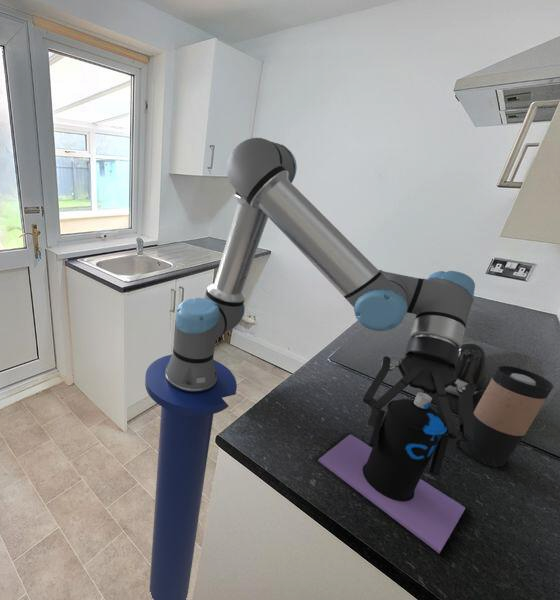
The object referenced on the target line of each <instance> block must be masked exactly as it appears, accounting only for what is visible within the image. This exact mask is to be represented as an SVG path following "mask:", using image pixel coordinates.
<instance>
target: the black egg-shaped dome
mask: <svg viewBox="0 0 560 600" xmlns="http://www.w3.org/2000/svg"><path fill="white" fill-rule="evenodd" d="M487 372H488V359H487V354H486V351H485V350H484V348H483V347H482V346H481V345H479V344H477V343H474V342H462V345H461V348H460V349H459V356H458V360H457V364H456V368H455V374H456V376H457V379H459V380H461V381H464V382H466V383H474V384H476V385H477V389H476V391H475V393H474V394H473V396H474V395H476V394H477V393H479V392H480V391H482V390H483V388H484V387H485V383H486V379H487ZM445 390H446V393H447V394H450V395H453V396H457V397H459V395H460V394H459V393H458V392H457V391H456V386H455V385H453V384H452V385H450V386H448V387H446V388H445Z"/></svg>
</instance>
